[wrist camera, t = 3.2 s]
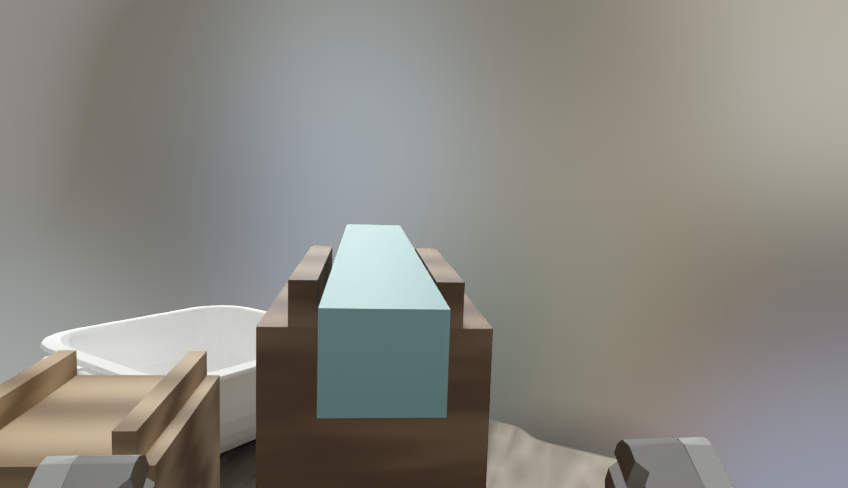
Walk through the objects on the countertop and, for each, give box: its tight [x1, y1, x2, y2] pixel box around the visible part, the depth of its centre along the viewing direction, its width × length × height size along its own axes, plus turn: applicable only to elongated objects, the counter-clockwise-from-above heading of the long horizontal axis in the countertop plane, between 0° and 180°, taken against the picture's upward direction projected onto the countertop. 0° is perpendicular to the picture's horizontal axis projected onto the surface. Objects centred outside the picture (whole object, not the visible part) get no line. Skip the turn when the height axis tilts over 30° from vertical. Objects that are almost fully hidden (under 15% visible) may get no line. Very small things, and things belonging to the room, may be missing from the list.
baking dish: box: [40, 305, 267, 453], centre depth 78 cm, size 34×28×13 cm
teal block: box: [317, 224, 450, 418], centre depth 30 cm, size 26×4×3 cm, turn 5°
